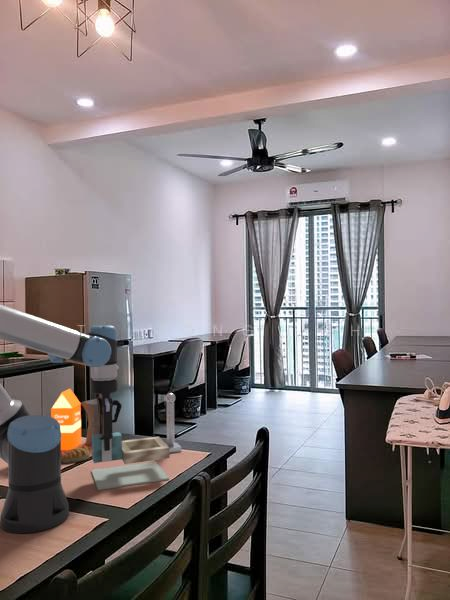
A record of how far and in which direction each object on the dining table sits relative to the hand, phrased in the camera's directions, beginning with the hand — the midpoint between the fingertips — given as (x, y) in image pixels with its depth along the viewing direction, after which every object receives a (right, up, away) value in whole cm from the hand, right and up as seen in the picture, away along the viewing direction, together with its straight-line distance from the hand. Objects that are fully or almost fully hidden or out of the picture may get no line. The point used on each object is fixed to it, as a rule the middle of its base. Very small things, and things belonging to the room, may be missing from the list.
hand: (105, 458), depth 142 cm
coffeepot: (-11, -6, +37) cm, 39 cm away
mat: (+6, -6, +2) cm, 9 cm away
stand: (+16, -6, +27) cm, 32 cm away
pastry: (-14, -7, +18) cm, 24 cm away
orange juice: (-22, -6, +33) cm, 40 cm away
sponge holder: (+6, 0, +3) cm, 7 cm away
